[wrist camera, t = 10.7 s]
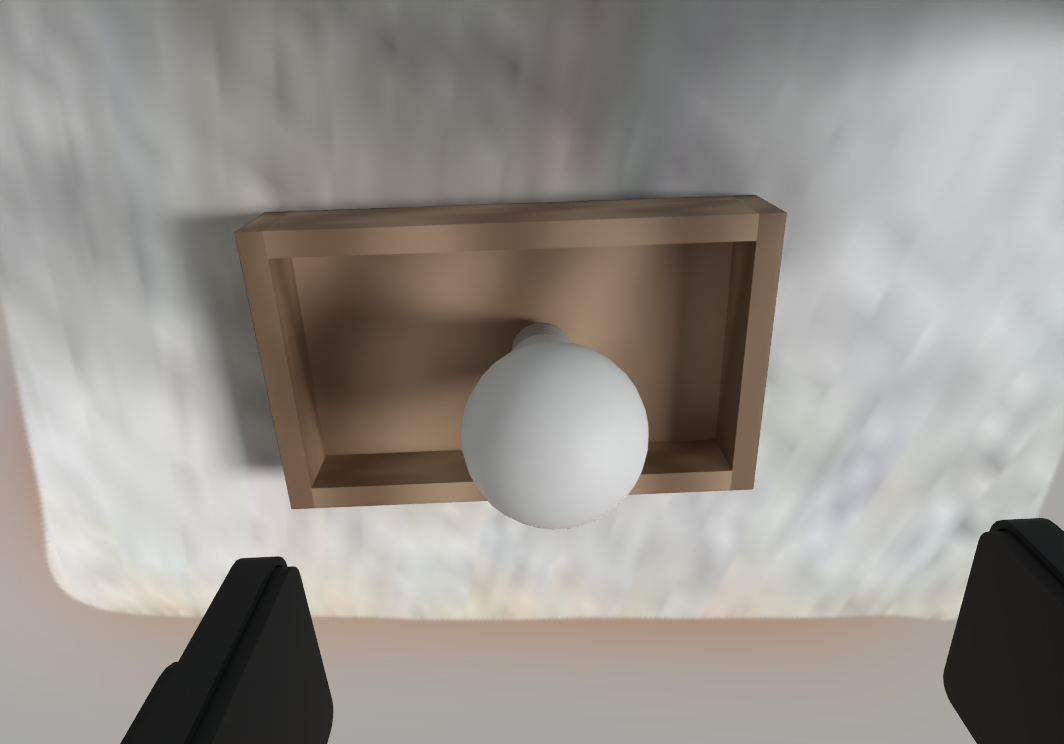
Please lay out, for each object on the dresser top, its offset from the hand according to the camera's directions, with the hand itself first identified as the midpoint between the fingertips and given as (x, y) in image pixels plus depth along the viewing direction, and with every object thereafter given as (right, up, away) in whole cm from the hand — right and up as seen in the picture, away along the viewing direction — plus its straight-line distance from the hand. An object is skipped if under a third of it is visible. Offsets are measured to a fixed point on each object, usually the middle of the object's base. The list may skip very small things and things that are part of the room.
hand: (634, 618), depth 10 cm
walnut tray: (-2, +5, +21) cm, 22 cm away
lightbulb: (-1, +5, +21) cm, 21 cm away
